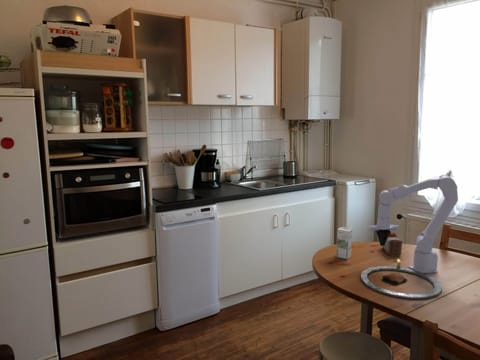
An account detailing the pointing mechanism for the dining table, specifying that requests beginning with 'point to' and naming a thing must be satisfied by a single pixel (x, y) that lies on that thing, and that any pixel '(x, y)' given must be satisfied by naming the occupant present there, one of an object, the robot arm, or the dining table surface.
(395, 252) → the food item
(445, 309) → the dining table surface
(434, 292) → the turntable ring
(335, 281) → the dining table surface
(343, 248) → the syrup box
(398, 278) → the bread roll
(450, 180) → the robot arm
